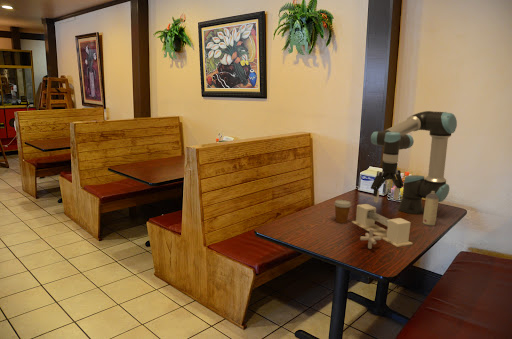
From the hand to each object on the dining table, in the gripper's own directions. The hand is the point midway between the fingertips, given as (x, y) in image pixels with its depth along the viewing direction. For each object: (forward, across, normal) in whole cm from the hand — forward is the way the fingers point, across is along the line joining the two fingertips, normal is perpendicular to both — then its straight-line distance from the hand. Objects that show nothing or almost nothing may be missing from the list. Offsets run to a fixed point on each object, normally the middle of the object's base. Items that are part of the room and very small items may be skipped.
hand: (385, 200), depth 200 cm
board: (+19, 0, -2) cm, 19 cm away
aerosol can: (+19, -37, -2) cm, 41 cm away
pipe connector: (+19, +19, +13) cm, 30 cm away
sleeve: (+19, 0, -14) cm, 24 cm away
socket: (+19, 0, +11) cm, 22 cm away
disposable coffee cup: (+19, +10, -23) cm, 32 cm away
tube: (+13, 0, +1) cm, 13 cm away
